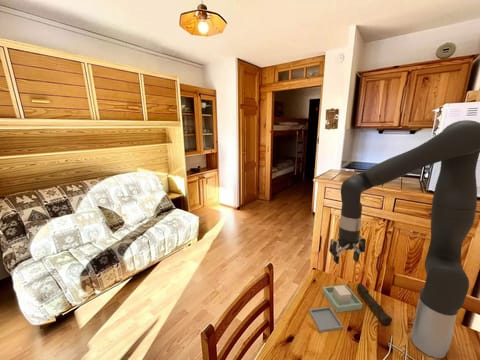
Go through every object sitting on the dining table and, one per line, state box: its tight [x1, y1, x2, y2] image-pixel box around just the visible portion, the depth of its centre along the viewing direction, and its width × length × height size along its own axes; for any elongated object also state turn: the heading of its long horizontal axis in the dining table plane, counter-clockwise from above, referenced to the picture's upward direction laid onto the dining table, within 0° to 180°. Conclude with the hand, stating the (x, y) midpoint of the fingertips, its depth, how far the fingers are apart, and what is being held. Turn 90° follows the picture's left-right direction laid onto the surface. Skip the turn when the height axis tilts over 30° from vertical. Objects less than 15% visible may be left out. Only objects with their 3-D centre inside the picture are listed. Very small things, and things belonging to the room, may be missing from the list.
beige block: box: [333, 285, 351, 305], centre depth 91 cm, size 5×5×5 cm
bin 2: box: [322, 284, 364, 313], centre depth 91 cm, size 11×11×3 cm
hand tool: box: [356, 283, 393, 326], centre depth 89 cm, size 19×4×5 cm, turn 1°
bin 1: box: [308, 306, 344, 333], centre depth 82 cm, size 9×9×2 cm
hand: (345, 261), depth 87 cm, fingers open, 8 cm apart
